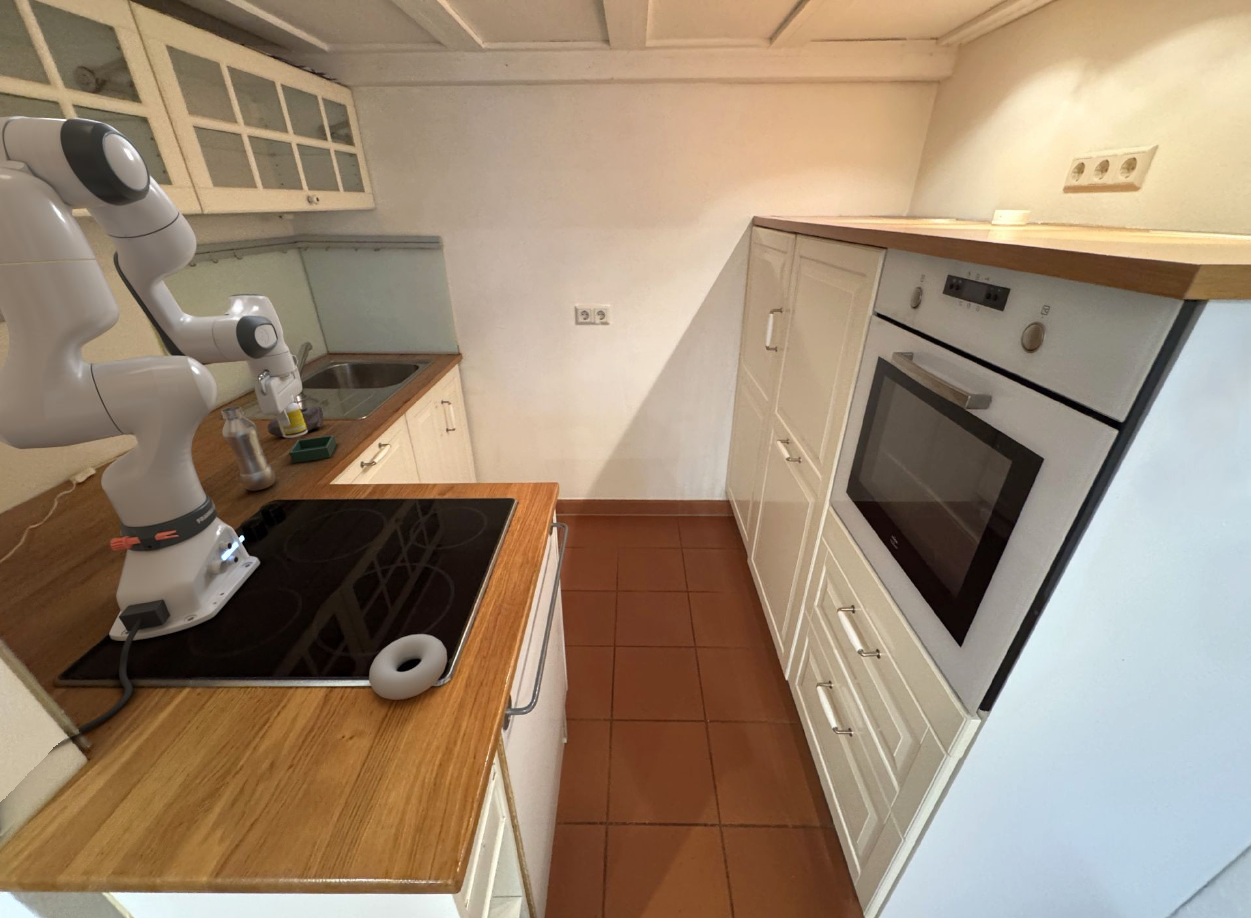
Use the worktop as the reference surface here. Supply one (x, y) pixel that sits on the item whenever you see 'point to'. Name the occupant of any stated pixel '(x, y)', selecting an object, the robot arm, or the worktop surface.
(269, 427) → the perforated stone tool
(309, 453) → the tray
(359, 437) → the worktop surface
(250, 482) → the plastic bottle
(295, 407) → the supplement bottle
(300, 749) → the worktop surface
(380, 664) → the donut
